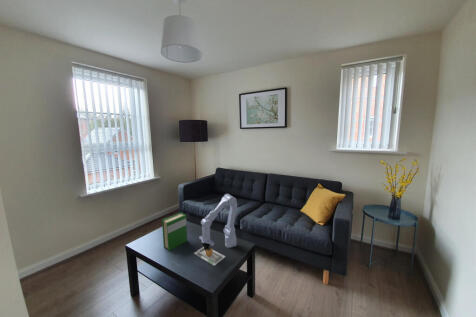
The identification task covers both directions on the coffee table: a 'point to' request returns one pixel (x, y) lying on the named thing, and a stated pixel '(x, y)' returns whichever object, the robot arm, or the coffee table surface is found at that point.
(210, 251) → the lever
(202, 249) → the white flat tray
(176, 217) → the hardback book
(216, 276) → the coffee table surface
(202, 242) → the robot arm
